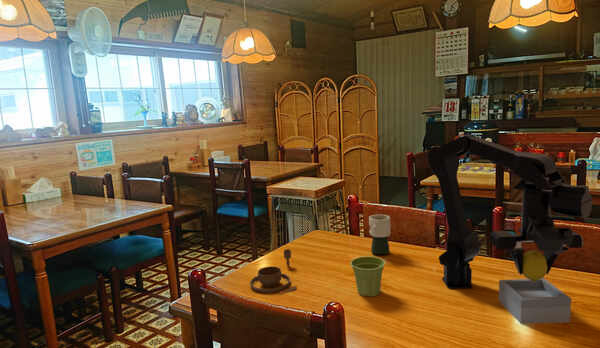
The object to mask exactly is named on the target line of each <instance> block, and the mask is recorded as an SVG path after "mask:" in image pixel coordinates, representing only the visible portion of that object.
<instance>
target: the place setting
mask: <svg viewBox="0 0 600 348" xmlns="http://www.w3.org/2000/svg"><path fill="white" fill-rule="evenodd" d="M283 257H284V259H286V263H285V264H286V266H289V265H290V259H291V258H292V250H291V249H283ZM281 277H282V278H284V279H286V280H287V281H288V283H287V281H286V280H285V281H286V283H285V284H283V285H282V286H279V287H276V286H277V284H278V283H280V281H281V280H282V278H281ZM284 279H283V280H284ZM257 280H259V283H260V284H261V285H263V287H266V288H260V287H256V286H254V285H253V283H254V282H255V281H257ZM257 282H258V281H257ZM255 283H256V282H255ZM255 283H254V284H255ZM290 283H291V277H290V276H289V275H287V274H285V273H282V269H281V268H280V267H278V266H265V267H264V266H263V267H261V268H260V269H258V270H257V275H256V276H254V277H253V278H252V279H251V280H250V282H249V284H250V285H249V286H250V288H251V289H252V290H253V291H255V292H257V291H258V292H257V293H262V294H263V293H264V294H269V293H277V292H280V291H282V290H285V289H286V288H287V290H286V291H283V292H281V293H280V294H278V295H279V296H281V295H284V294H286V293H289V292H290V291H291V292H293V291H295V290H296V289H297V286H296V285H293V286H290ZM288 286H290V287H289V288H288ZM272 287H274V288H272Z"/></svg>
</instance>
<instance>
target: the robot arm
mask: <svg viewBox="0 0 600 348" xmlns="http://www.w3.org/2000/svg"><path fill="white" fill-rule="evenodd" d="M468 153H469V154H472V155H475V156H478V157H480V158H483V159H486V160H488V161H490V162H493V163H495V164H499V165H501V166H503V167H505V168H507V169H508V170H510V172H512V174H513V175H515V177H516V176H517V177H518V178H520V180H519V181H518V182H517V183H516V184H515V185H513V186H512V189H513V190H518V191H519V190H520V191H522V195H521V196H522V197H521V199H522V200H521V201H522V202H521V211H519V215H518V216H520V217H521V219H520V221H521V226H520V227H518V233H520V234H512V233H510V231H508V230H492V231H491V233H490V234H489V239H488V240H489V241H488V242H489V243H490V244H491V245H492V246H494V247H495V248H496V249H498V250H502V251H504V250H507V251H508V252H509V254H510V256H511V258H512V259H513V260H512V261H513V263H514V265H515V268H516V270H517V273H518V274H519V275H521V276H522V275H523V274H522V272H523V255H524V254H525V253H526V250H525V249H523V248H522V244H535V246H536V248H537V249H538V250H539V251H541V252H542V255H543V256H544V257H545V259H546V262H547V272H546V274H545V275H548V274H550V271H551V269H552V267H553V266H554V264H555V261H556V260H557V258H558V257H559V255H560V254H562V253H564V252H568V251H569V249H578V248H579V249H580V248H581V249H582V248H583V247H584V239H583V236H582V235H581V234H579V233H577V232H575V231H574V230H573V229H572V228H570V227H569V226H568V227H561V226H559V227H556V226H555V221H554V220H555V219H554V216H552V215H551V212H552V211H553V213H554V214H557V215H562V216H569V217H574V218H580V219H587V218H588V217H589V216H590V215H591V213H592V209H593V199H592V195H591V192H590V191H589V190H590V187H589V186H588V185H572V184H568V183H567V181H566V179H565V178H564V177H563V175H562V174H561V172H560V171H559V170H558V168H557V164H556V162H555V159H554V158H553V157H552V156H550V155H547V154H543V153H537V152H536V153H535V152H525V151H517V150H515V149H512V148H511V147H510V148H509V147H506V146H504V145H501V144H498V143H496V142H494V141H489V140H487V139H484V138H481V137H479V136H476V135H475V134H473V133H470V134H463V135H460V136H458V137H457V138H455V139H453V140H451V141H449V142H447V143H444V144H442V145H436V146H433V147H431V148H430V149H429V150H428V152H427V153H426V161H427V162H428V163H427V164H428V166H429V169H430V171H431V173H433V175H434V176H435V177H436V178H437V180H438V185H439V189H440V193H441V198H442V203H443V207H444V212H445V217H446V220H447V226H448V232H447V237H446V251H444V252H443V253H442V254H440V255H439V256H438V260H439V264H440V265H442V266H443V277H441V280H442V282H443V283H444V284H445V286H446V287H447V289H471V288H472V286H473V285H472V274H473V273H472V272H473V271H472V268H471V265H470V263H471V262H473V261H474V259H475V257H477V256H478V254H479V253H480V247H481V246H482V245H481V243H480V240H479V239H480V238H479V233H478V231H474V232H473V231H472V230H471V229H470V227H469V226H468V221H467V216H466V213H465V208H464V203H463V199H462V195H461V190H460V185H459V181H458V171H459V167H460V157H462V156H464V155H466V154H468Z"/></svg>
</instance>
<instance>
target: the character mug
mask: <svg viewBox="0 0 600 348" xmlns="http://www.w3.org/2000/svg"><path fill="white" fill-rule="evenodd" d="M368 224H369V231H368V233H369V235H370V236H372V238H371V239H372V241H371V249H370V250H371V253H372V254H376V255H377V254H378V255H386V254H389V253H390V244H389V239H388V237H389V236H390V235H391V217H390V215H387V214H372V215H370V216H368Z"/></svg>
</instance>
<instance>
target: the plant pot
mask: <svg viewBox="0 0 600 348" xmlns="http://www.w3.org/2000/svg"><path fill="white" fill-rule="evenodd" d="M385 265H386V261H385V260H384V259H382V258H380V257H377V256H369V255H367V256H359V257H355V258H353V259H352V260H351V261H350V266H351V267H352V270H353V273H354V279H355V283H356V290H357V293H358V294H359V295H361V296H362V297H365V296H368V297H376V296H377V295H379V294H380V292H381V286H382V277H383V276H382V275H383V270H384V267H385Z"/></svg>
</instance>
